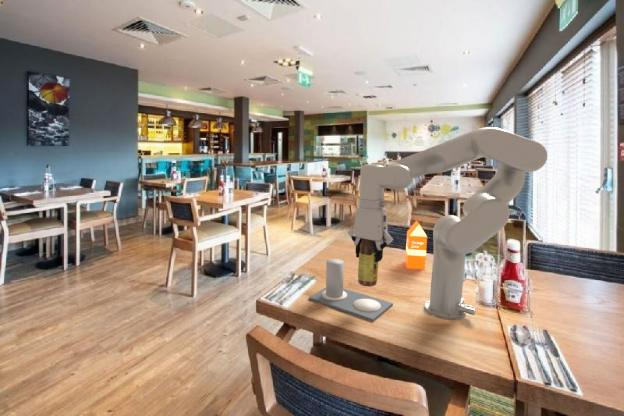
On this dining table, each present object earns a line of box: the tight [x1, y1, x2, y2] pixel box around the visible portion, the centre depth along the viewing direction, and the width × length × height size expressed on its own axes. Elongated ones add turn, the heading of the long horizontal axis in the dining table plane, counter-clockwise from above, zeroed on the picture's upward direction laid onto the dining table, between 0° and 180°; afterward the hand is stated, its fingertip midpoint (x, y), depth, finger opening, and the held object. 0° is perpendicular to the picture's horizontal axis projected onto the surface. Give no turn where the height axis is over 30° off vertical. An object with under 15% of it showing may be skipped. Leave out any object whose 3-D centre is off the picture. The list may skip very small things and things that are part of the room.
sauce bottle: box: [357, 239, 379, 287], centre depth 113 cm, size 6×6×20 cm
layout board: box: [308, 258, 394, 322], centre depth 119 cm, size 25×14×13 cm, turn 53°
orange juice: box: [405, 220, 428, 270], centre depth 156 cm, size 8×9×20 cm
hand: (368, 258), depth 114 cm, fingers closed on sauce bottle, 6 cm apart
